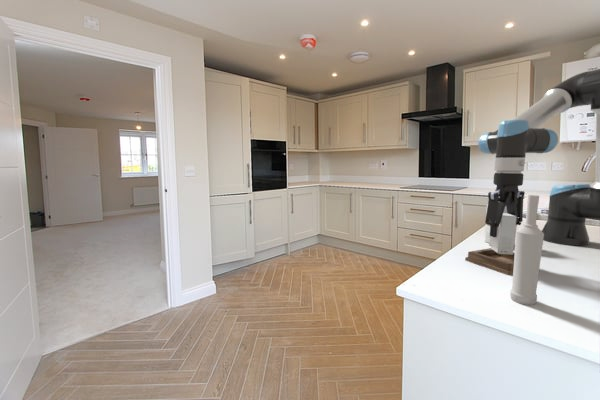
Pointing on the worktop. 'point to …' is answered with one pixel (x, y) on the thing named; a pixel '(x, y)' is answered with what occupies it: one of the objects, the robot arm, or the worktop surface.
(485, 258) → the brown square tray
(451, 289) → the worktop surface
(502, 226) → the skincare box
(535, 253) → the bottle
